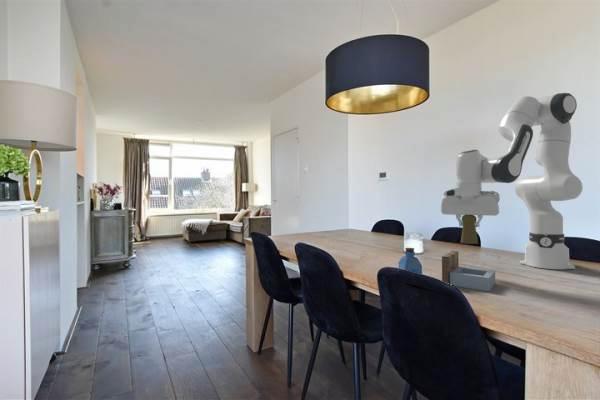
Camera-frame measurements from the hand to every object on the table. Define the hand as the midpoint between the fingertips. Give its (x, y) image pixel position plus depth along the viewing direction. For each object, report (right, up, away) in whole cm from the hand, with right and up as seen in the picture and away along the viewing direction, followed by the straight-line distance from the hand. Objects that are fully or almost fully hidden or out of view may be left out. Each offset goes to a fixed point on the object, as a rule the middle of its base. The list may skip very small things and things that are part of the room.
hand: (469, 226), depth 127 cm
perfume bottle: (-26, -20, -8) cm, 33 cm away
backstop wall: (-12, -19, -9) cm, 24 cm away
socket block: (-6, -19, -14) cm, 24 cm away
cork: (0, -7, 0) cm, 7 cm away
